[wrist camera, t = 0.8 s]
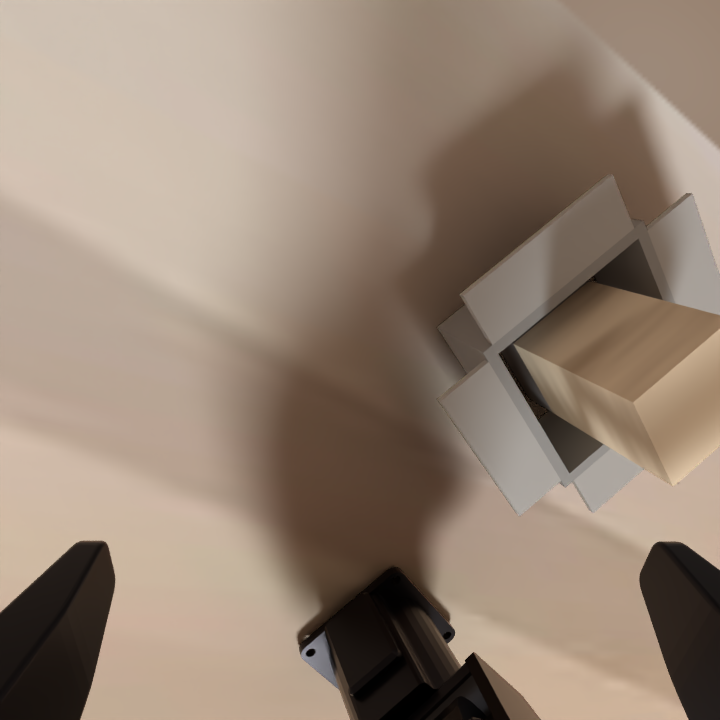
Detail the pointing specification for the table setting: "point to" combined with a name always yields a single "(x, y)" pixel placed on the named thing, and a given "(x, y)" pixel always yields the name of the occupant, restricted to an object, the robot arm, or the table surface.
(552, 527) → the table surface
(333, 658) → the robot arm
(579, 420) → the box
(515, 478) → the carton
